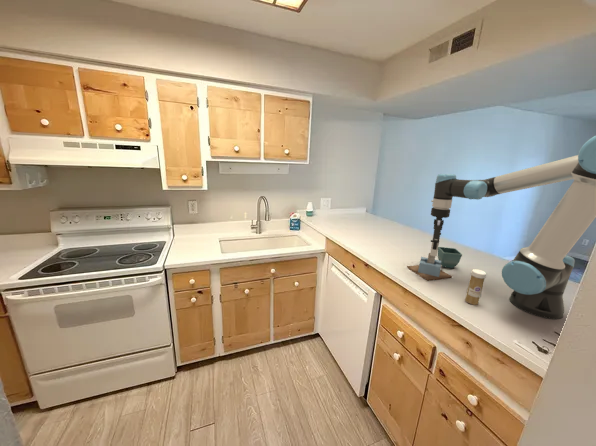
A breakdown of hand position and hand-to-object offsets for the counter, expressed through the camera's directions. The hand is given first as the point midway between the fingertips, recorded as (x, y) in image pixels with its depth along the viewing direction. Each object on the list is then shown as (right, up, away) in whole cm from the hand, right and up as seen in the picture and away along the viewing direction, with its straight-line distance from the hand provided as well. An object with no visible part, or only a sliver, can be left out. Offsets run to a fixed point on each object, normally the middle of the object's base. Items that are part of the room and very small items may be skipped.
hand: (433, 251), depth 117 cm
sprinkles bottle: (+4, -18, -20) cm, 27 cm away
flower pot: (+14, -9, +12) cm, 21 cm away
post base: (-1, -11, +4) cm, 12 cm away
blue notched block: (-1, -10, +3) cm, 11 cm away
